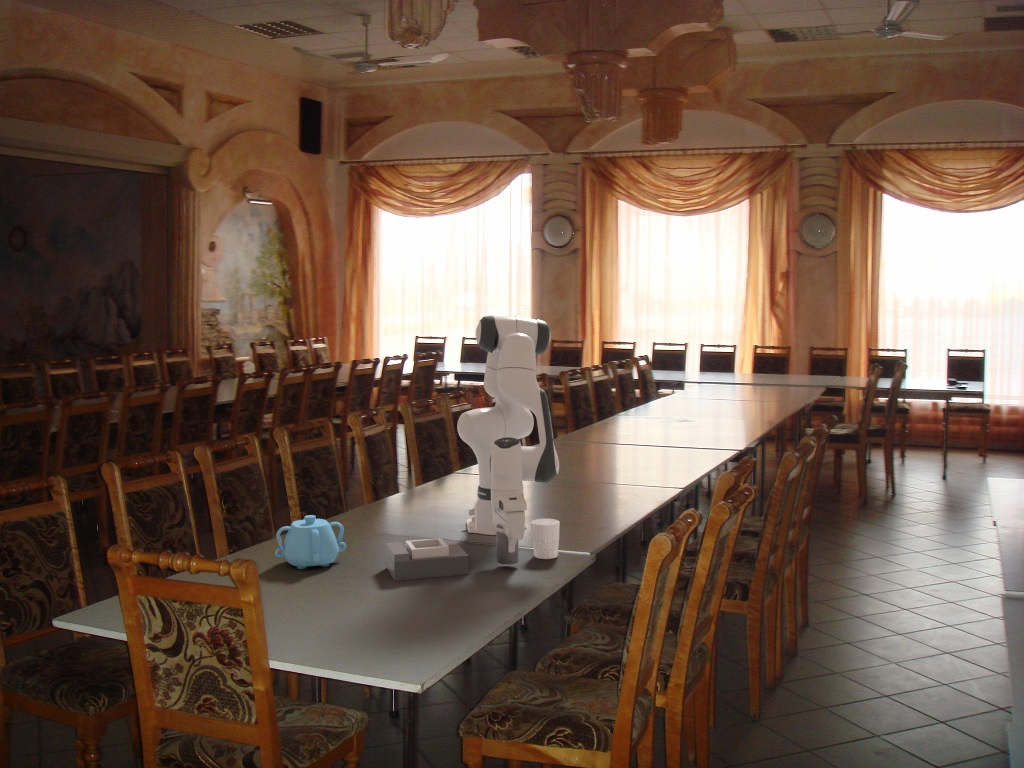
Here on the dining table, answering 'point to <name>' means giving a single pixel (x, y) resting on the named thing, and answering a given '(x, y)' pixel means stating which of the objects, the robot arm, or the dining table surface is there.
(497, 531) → the lens
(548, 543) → the white cup
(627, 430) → the dining table surface
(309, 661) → the dining table surface
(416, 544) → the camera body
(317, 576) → the dining table surface
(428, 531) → the dining table surface
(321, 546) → the decorative pot
